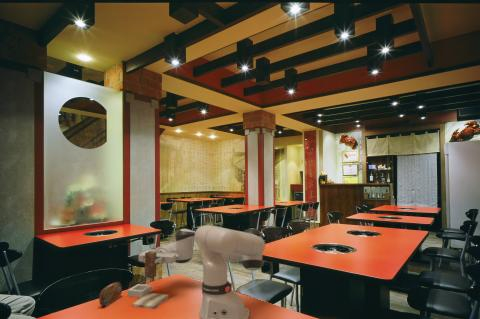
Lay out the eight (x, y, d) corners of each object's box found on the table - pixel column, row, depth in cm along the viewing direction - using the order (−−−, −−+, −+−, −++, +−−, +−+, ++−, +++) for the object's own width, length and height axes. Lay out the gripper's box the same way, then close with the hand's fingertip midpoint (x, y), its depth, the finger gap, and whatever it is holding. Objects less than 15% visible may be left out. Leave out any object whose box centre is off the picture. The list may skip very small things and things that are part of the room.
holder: (152, 291, 156) (152, 285, 156) (142, 297, 148) (142, 291, 148) (137, 289, 159) (137, 284, 159) (127, 295, 150) (127, 290, 150)
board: (169, 297, 147) (169, 294, 148) (154, 309, 134) (154, 306, 134) (148, 295, 151) (148, 292, 151) (132, 306, 137) (132, 303, 137)
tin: (103, 308, 135) (103, 290, 136) (97, 308, 136) (98, 290, 136) (122, 296, 150) (122, 279, 150) (117, 295, 150) (117, 279, 151)
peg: (156, 275, 145) (156, 251, 145) (152, 278, 141) (152, 253, 142) (149, 275, 145) (149, 251, 146) (144, 277, 142) (145, 253, 142)
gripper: (180, 261, 153) (168, 269, 140) (147, 259, 158) (132, 266, 145) (180, 249, 154) (168, 256, 141) (147, 248, 159) (132, 254, 145)
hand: (149, 261), depth 143 cm, fingers closed on peg, 4 cm apart
